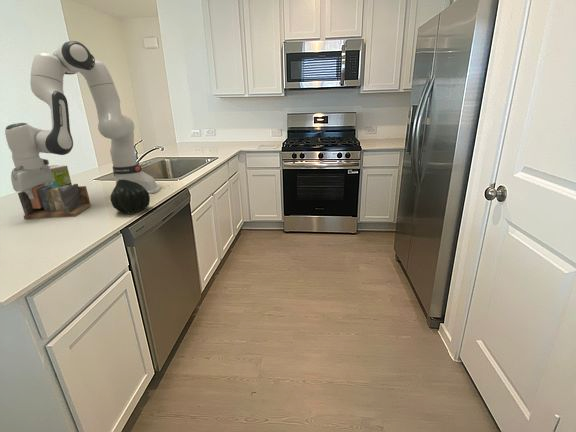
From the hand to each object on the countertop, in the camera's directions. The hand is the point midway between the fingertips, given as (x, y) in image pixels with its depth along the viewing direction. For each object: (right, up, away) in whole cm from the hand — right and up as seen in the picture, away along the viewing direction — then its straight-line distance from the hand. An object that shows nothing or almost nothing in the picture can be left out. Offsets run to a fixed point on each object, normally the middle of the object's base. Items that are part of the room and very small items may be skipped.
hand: (38, 196), depth 134 cm
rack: (+7, -7, +3) cm, 10 cm away
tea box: (-15, +2, +29) cm, 33 cm away
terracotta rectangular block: (0, -4, +2) cm, 5 cm away
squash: (+39, -7, +3) cm, 40 cm away
